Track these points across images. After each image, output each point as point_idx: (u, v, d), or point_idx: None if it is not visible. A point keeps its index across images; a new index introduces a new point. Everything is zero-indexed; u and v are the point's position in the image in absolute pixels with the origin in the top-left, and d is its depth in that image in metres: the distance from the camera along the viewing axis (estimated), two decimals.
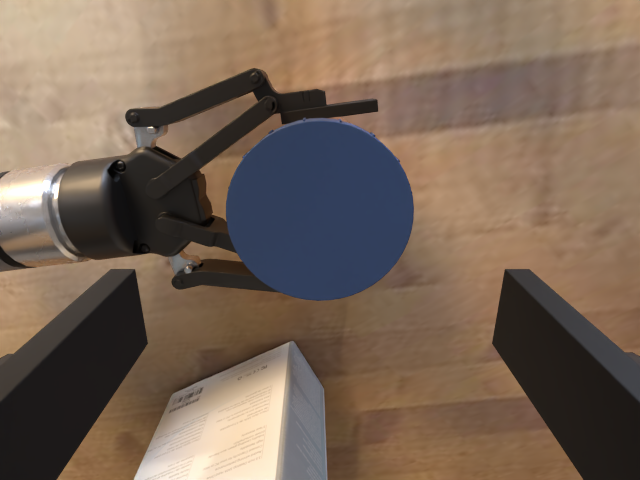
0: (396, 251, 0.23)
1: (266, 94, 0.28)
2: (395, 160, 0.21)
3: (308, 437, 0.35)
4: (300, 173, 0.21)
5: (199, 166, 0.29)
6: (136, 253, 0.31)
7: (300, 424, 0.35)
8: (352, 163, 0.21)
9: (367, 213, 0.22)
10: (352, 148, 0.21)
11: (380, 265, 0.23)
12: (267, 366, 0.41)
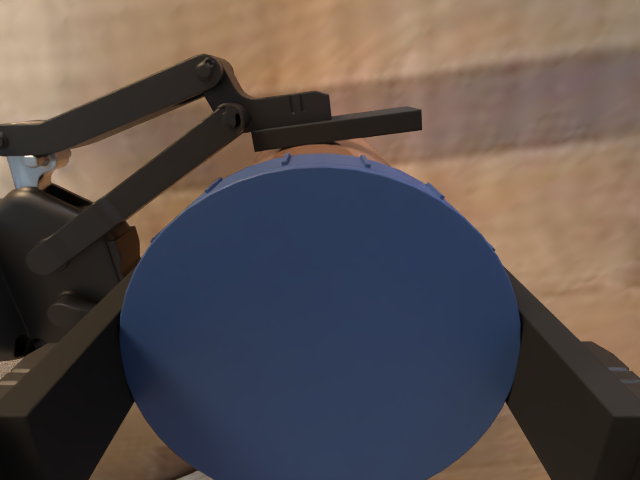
0: (477, 424, 0.11)
1: (227, 100, 0.16)
2: (490, 252, 0.09)
3: None
4: (277, 279, 0.10)
5: (116, 222, 0.17)
6: (24, 355, 0.19)
7: None
8: (393, 258, 0.09)
9: (421, 356, 0.10)
10: (395, 227, 0.09)
11: (442, 448, 0.11)
12: None
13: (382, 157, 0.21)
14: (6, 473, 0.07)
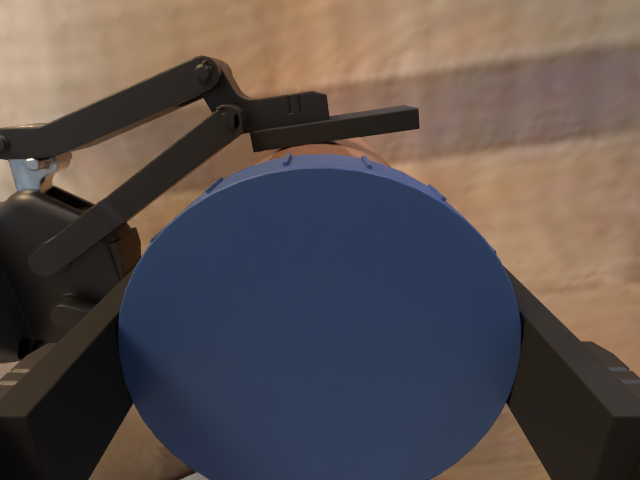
0: (274, 188, 0.09)
1: (226, 101, 0.16)
2: (121, 322, 0.10)
3: None
4: (270, 434, 0.11)
5: (117, 223, 0.17)
6: None
7: None
8: (188, 379, 0.11)
9: (246, 299, 0.10)
10: (167, 393, 0.11)
11: (329, 196, 0.09)
12: None
13: None
14: (6, 473, 0.07)
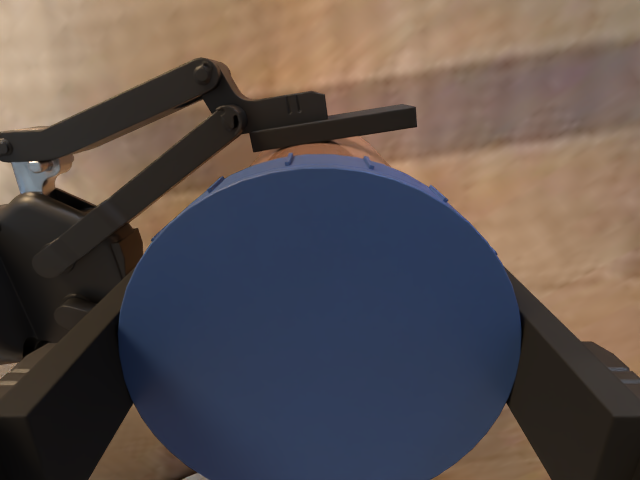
0: (209, 469, 0.12)
1: (225, 102, 0.16)
2: None
3: None
4: (423, 357, 0.10)
5: (119, 224, 0.17)
6: None
7: None
8: (404, 441, 0.11)
9: (301, 443, 0.11)
10: (429, 447, 0.11)
11: (185, 440, 0.11)
12: None
13: None
14: (5, 473, 0.07)
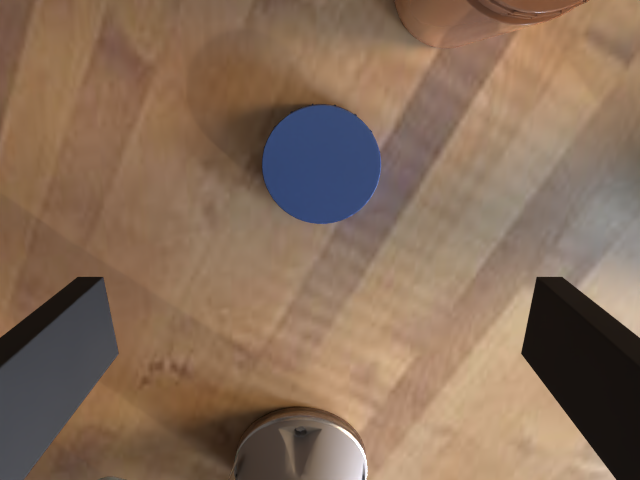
0: (286, 207, 0.36)
1: None
2: (342, 219, 0.37)
3: None
4: (352, 164, 0.35)
5: None
6: None
7: None
8: (348, 195, 0.36)
9: (315, 196, 0.36)
10: (356, 197, 0.36)
11: (279, 195, 0.36)
12: None
13: (469, 43, 0.31)
14: None
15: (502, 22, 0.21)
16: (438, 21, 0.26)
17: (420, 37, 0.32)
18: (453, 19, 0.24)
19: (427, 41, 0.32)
